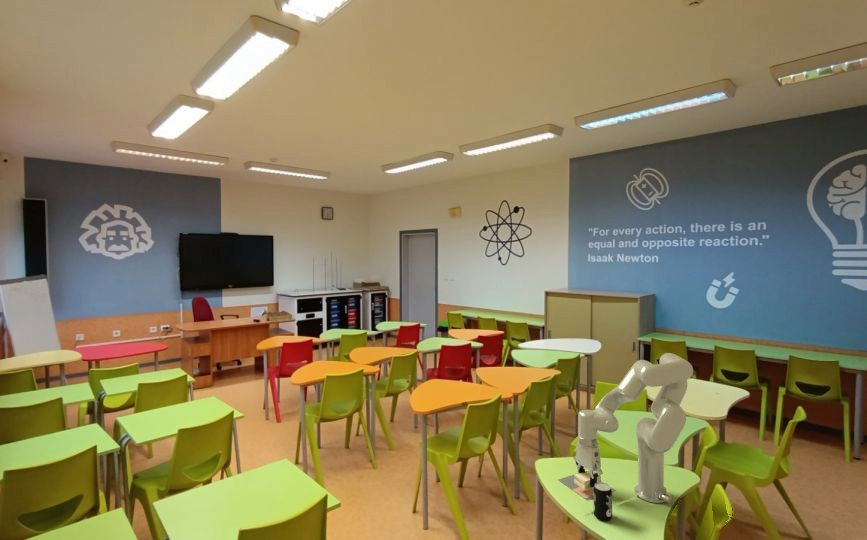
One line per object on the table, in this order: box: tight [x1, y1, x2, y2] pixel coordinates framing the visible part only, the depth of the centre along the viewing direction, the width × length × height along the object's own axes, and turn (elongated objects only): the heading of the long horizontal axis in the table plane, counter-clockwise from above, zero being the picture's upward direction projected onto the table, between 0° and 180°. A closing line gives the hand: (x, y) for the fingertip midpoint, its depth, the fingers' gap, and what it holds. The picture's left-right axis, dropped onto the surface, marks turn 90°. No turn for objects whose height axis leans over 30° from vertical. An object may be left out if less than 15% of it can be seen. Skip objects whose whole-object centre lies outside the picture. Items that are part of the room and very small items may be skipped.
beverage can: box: [593, 481, 613, 522], centre depth 163 cm, size 7×7×12 cm
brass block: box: [573, 469, 602, 490], centre depth 180 cm, size 9×6×4 cm, turn 114°
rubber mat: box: [557, 473, 617, 501], centre depth 185 cm, size 18×16×1 cm
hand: (587, 482), depth 180 cm, fingers closed on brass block, 6 cm apart
